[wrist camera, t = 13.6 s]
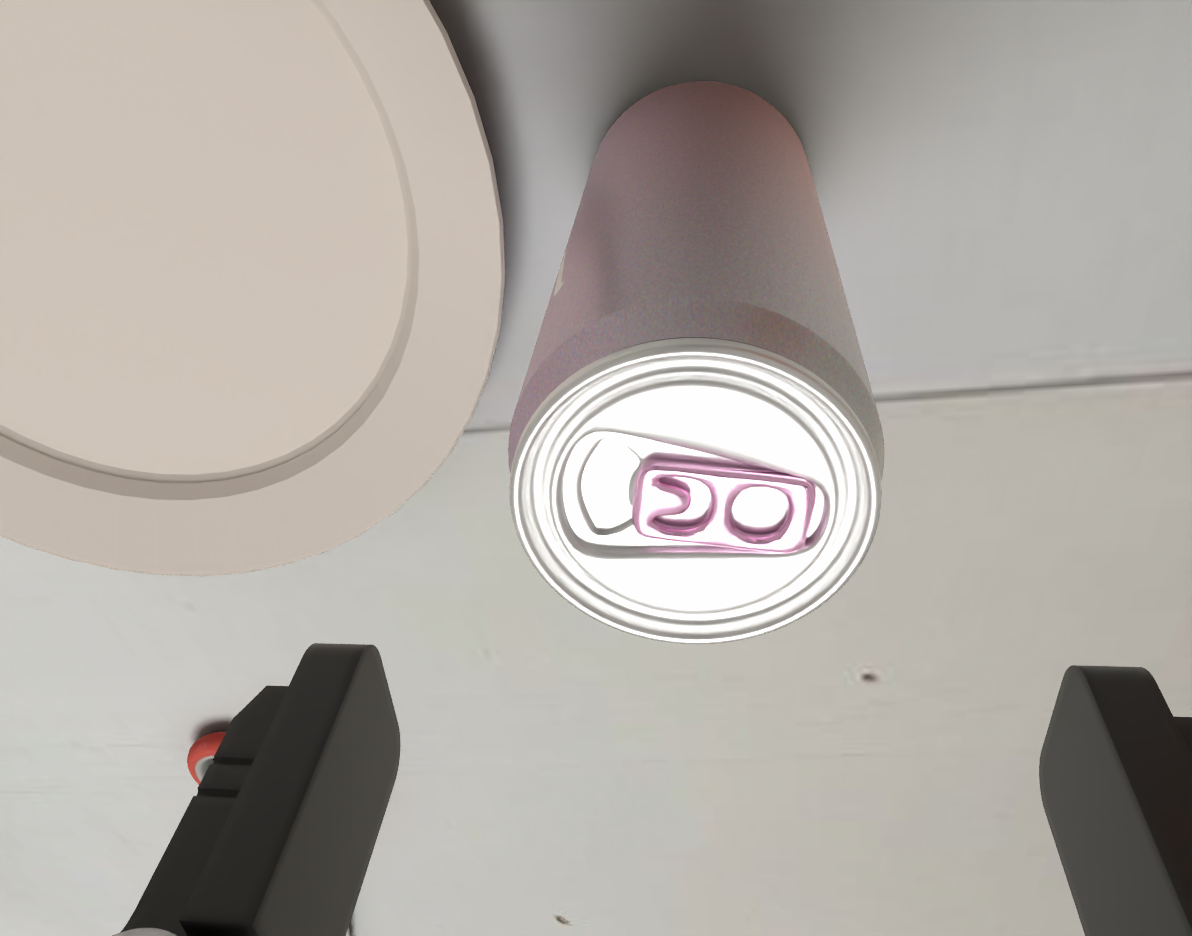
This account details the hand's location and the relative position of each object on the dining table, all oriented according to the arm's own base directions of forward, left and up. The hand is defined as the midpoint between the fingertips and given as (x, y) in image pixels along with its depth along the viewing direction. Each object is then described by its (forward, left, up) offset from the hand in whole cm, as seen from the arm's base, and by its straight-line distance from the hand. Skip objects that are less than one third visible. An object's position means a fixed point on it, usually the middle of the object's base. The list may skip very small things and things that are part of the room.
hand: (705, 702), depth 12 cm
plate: (+18, 0, -19) cm, 26 cm away
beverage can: (0, 0, -19) cm, 19 cm away
